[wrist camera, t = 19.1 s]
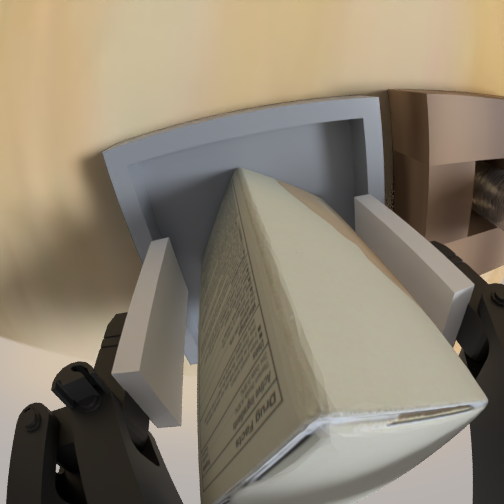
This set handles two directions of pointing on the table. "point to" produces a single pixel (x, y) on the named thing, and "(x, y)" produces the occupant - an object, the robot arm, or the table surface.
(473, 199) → the pin
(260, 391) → the box
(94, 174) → the table surface
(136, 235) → the tray
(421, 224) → the brown block with hole
